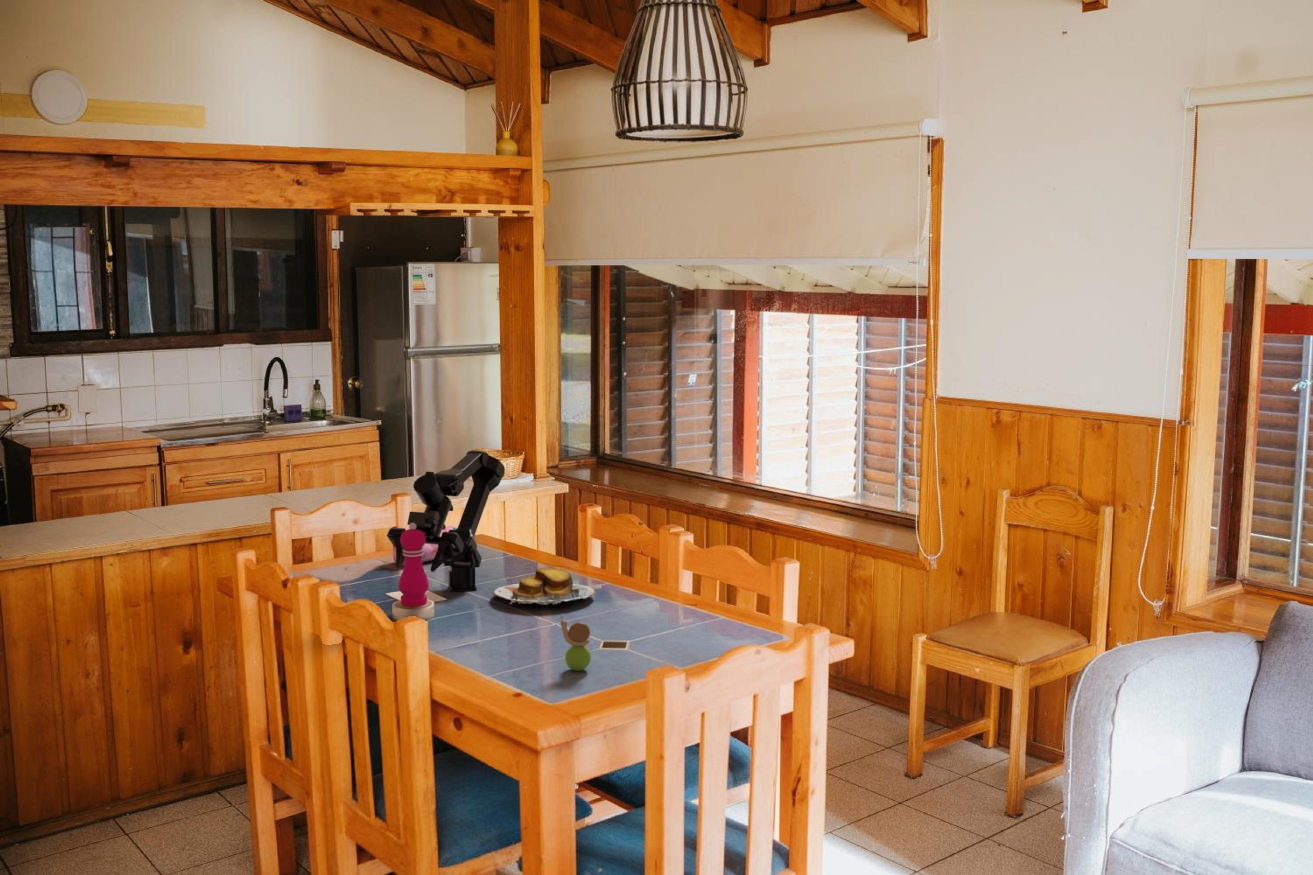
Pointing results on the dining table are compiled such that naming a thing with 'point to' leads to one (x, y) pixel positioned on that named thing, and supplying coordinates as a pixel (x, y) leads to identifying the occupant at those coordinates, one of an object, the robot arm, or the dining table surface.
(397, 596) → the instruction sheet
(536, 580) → the food on plate
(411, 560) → the pepper mill
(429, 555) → the pencil case
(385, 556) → the dining table surface
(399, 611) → the round bowl
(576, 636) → the snail figurine
